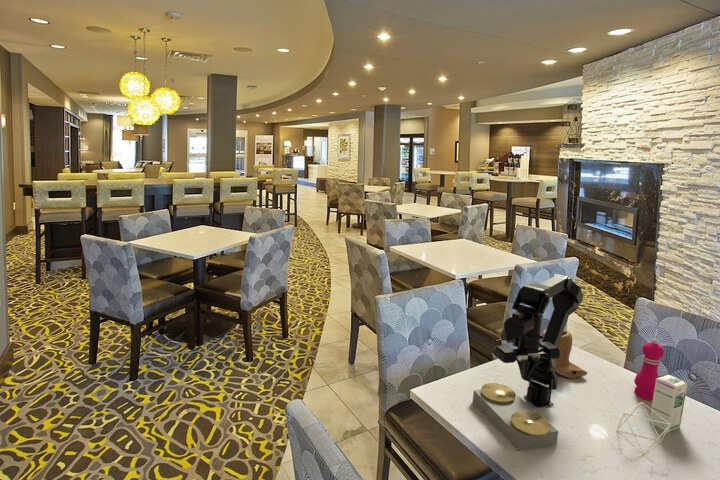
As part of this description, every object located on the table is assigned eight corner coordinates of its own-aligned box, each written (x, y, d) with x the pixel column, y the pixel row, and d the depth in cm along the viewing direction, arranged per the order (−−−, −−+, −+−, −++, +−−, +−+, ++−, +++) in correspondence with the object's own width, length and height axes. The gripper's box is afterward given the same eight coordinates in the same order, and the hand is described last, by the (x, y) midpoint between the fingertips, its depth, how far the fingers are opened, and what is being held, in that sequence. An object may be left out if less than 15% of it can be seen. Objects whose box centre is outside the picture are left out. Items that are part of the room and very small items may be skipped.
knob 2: (532, 423, 132) (534, 409, 131) (556, 445, 123) (558, 429, 122) (502, 428, 129) (504, 413, 128) (523, 450, 120) (525, 434, 119)
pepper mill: (661, 402, 147) (672, 344, 143) (637, 399, 149) (647, 341, 145) (652, 391, 154) (662, 335, 150) (629, 388, 156) (638, 333, 152)
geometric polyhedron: (667, 461, 119) (673, 430, 117) (619, 449, 123) (625, 418, 121) (659, 435, 130) (664, 406, 128) (615, 425, 134) (620, 396, 133)
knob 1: (502, 395, 147) (503, 381, 146) (520, 412, 138) (522, 398, 137) (474, 398, 144) (475, 384, 144) (491, 416, 135) (492, 401, 134)
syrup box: (668, 433, 131) (677, 386, 128) (647, 422, 136) (656, 377, 133) (680, 428, 134) (689, 382, 131) (659, 417, 139) (667, 373, 136)
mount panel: (506, 397, 147) (507, 386, 146) (556, 444, 124) (558, 431, 123) (472, 401, 143) (473, 390, 143) (517, 450, 121) (519, 436, 120)
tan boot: (531, 362, 172) (536, 325, 169) (557, 359, 176) (562, 322, 173) (559, 382, 158) (565, 341, 155) (587, 378, 162) (593, 338, 159)
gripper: (540, 316, 141) (534, 363, 144) (486, 320, 136) (481, 369, 139) (564, 330, 131) (558, 381, 134) (507, 335, 126) (501, 387, 129)
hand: (523, 379), depth 134 cm, fingers closed
